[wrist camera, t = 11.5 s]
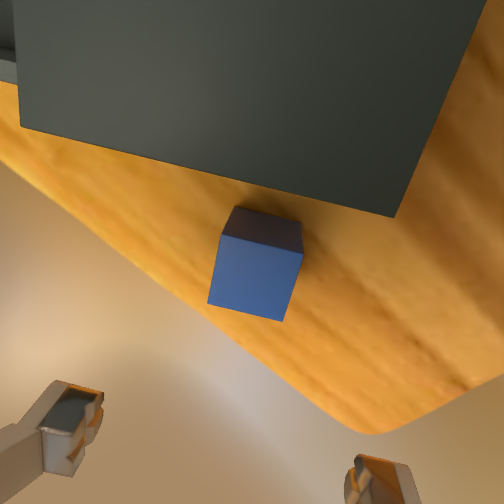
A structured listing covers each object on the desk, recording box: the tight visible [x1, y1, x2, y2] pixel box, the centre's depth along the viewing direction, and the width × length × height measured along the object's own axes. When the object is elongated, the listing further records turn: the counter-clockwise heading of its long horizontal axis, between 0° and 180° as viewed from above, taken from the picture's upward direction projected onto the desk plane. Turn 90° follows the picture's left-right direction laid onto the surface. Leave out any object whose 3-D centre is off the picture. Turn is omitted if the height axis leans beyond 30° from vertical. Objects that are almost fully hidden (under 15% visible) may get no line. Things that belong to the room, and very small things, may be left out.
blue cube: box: [207, 206, 304, 322], centre depth 22 cm, size 5×5×5 cm
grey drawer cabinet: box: [12, 0, 487, 218], centre depth 15 cm, size 15×13×9 cm
